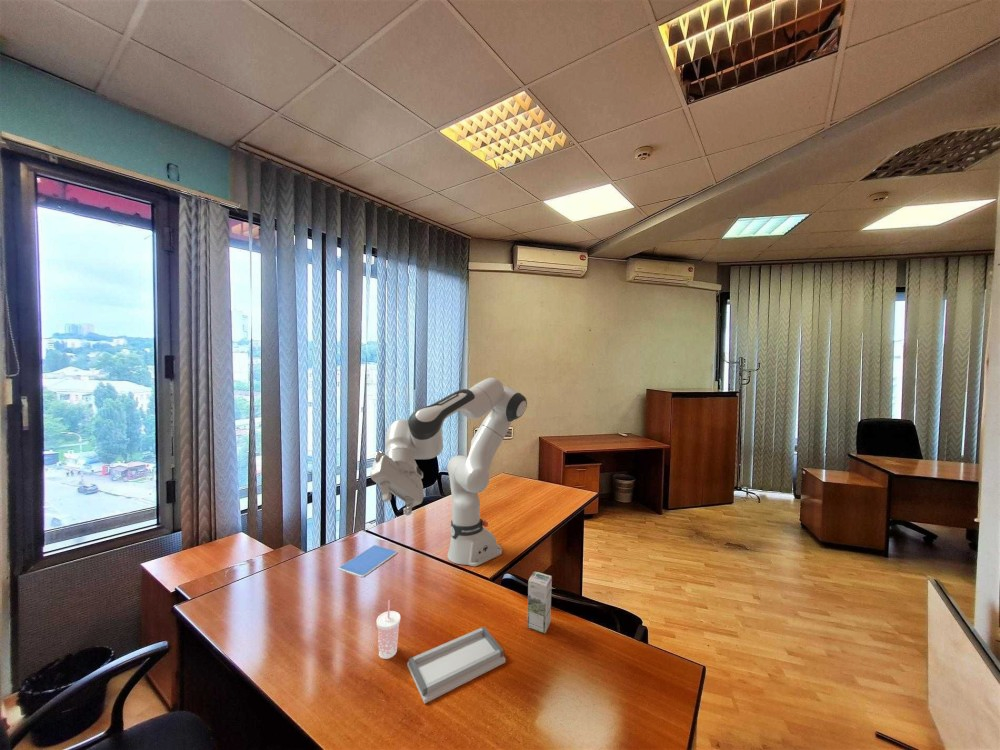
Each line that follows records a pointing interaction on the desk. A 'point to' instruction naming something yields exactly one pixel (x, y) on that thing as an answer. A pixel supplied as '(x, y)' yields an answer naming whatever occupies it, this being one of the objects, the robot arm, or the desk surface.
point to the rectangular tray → (455, 663)
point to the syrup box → (539, 602)
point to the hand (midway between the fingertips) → (397, 507)
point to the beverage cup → (388, 633)
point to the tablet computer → (367, 561)
